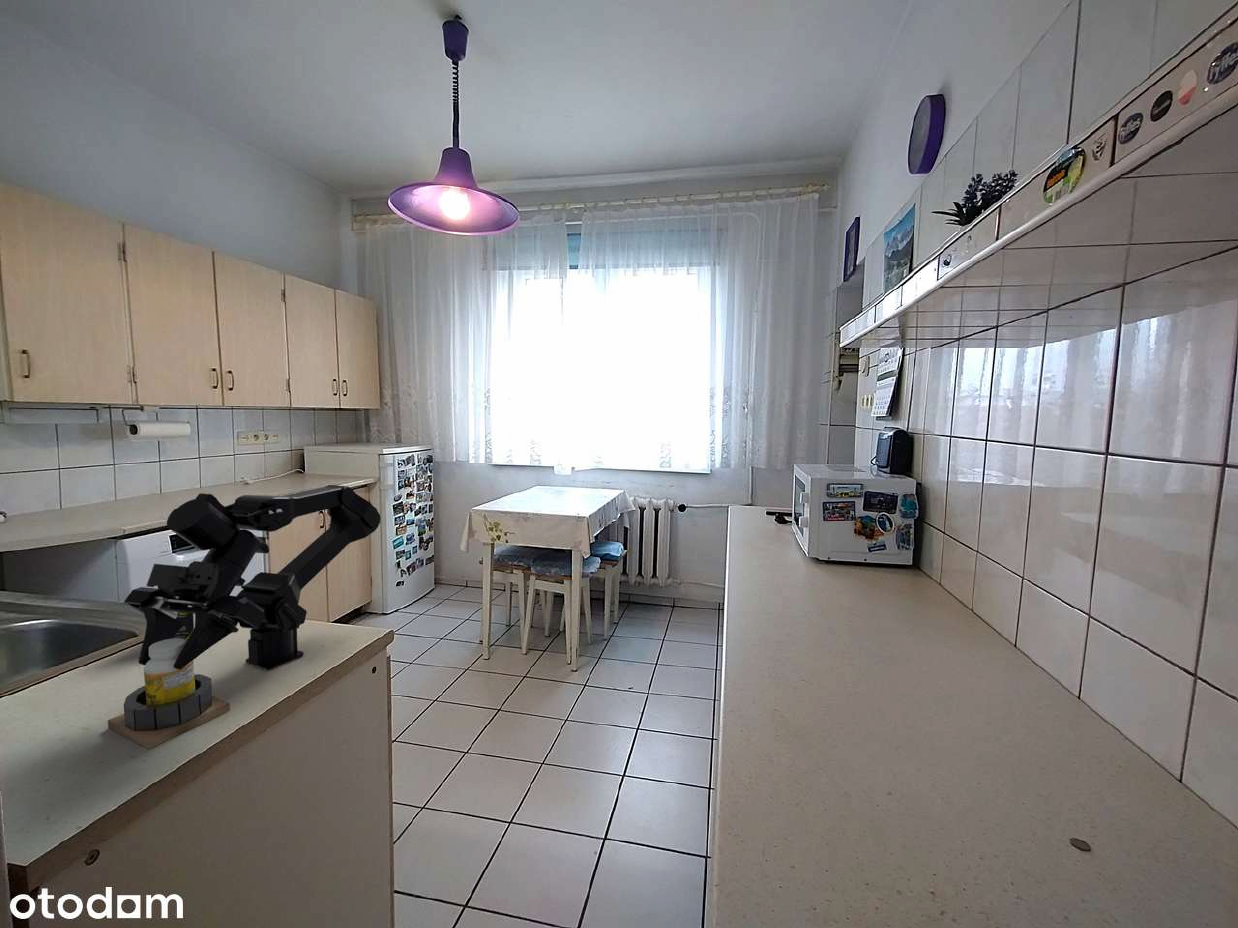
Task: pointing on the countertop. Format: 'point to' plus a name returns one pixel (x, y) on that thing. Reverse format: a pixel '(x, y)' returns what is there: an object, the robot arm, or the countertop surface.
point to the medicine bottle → (183, 620)
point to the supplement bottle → (167, 673)
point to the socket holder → (167, 714)
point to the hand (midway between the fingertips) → (159, 666)
